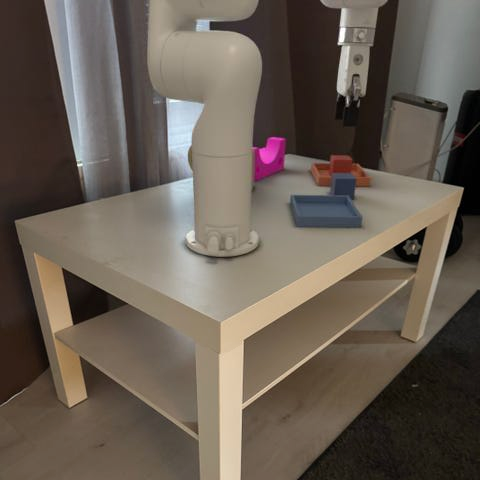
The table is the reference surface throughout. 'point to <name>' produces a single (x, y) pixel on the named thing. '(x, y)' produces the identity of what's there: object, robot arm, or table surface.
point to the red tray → (324, 179)
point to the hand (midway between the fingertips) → (344, 122)
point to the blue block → (343, 184)
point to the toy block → (269, 158)
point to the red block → (340, 164)
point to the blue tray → (325, 211)
